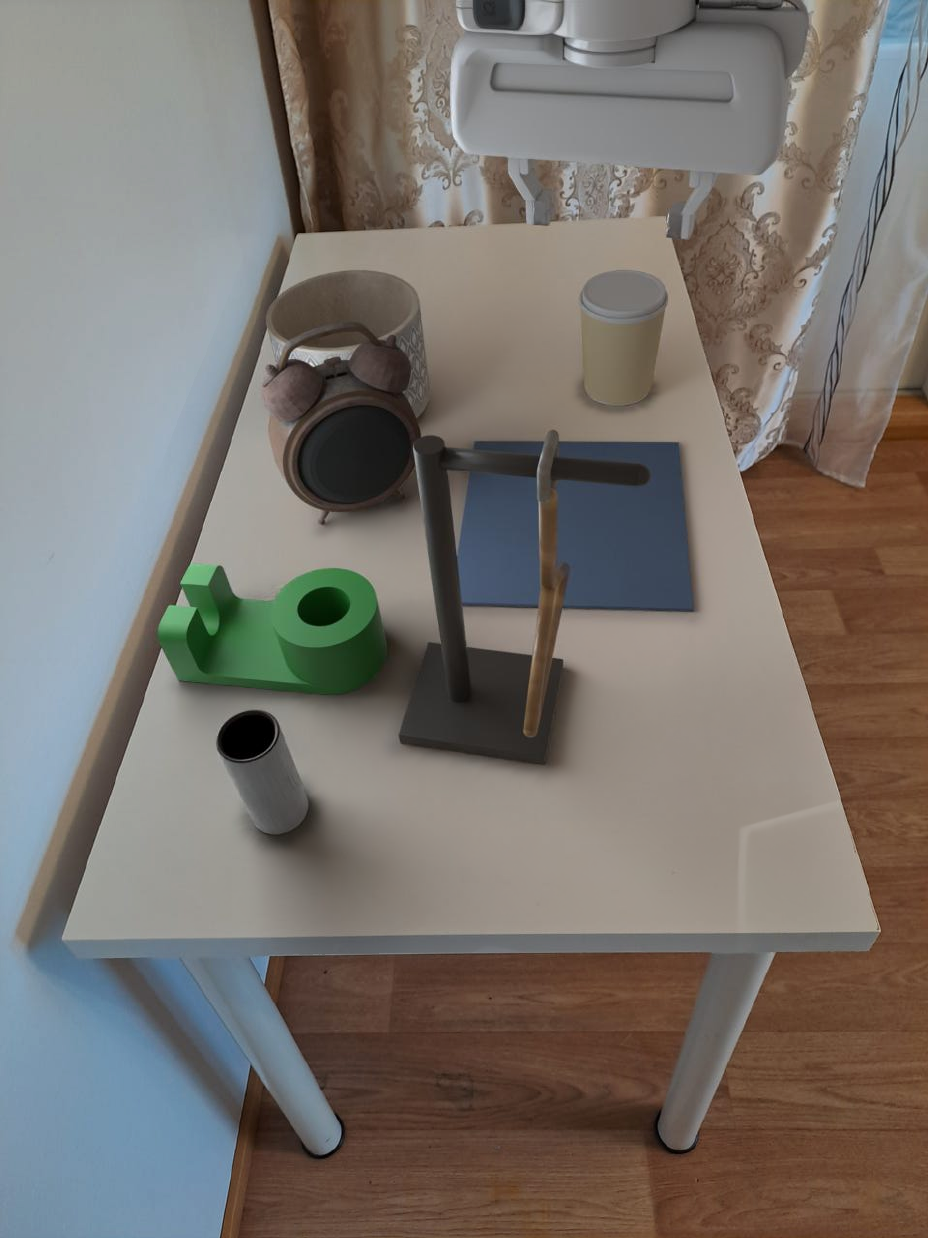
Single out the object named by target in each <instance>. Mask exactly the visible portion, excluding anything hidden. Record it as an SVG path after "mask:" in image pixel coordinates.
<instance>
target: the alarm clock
mask: <svg viewBox="0 0 928 1238" xmlns="http://www.w3.org/2000/svg"><path fill="white" fill-rule="evenodd" d="M341 332H361V333H362V334H364V335H365V336H366V337H367V338H368V339H369V340H368V341H365V342H363V343H362V344H361V345H359V346H358V347H357V349H356V350H355V351H354V353H353V354H352V356H351V358H350V360H341V358H340V357H333V358H329V359H326V360H324V363H323V364H320V365H317V366H315V367H313V366H311V365H310V364H308V363H306V362H304V361H301V360H298V359H289V357H290V354H291V353H292V351H293V350H294V349H296V348H297V347H299V346H301V345H303V344H305V343H306V342H308V341H311V340H314V339H317V338H320V337H324V336H328V335H331V334H335V333H341ZM265 372H266V374H265V376H264V378H263V380H262V381H261V382H260V383H261V388H260V397H261V401H262V402H263V404H264V407H265V409H266V410H267V412H268V413H269V414H270V415H269V420H268V439H269V444H270V446H271V451H272V456H273V458H274V462H275V464H276V467H277V468H278V471H279V472H280V474H281V476H282V477H283V479H284V480H285V482H286V484H287V485H288V487H289V488H290V490H291V491H292V492H293V494H294V495H295V496H296V497H297V498H298V499H300V501H301V502H303V503H305V504H307V505H309V506H310V507H313V508H315V509H317V510H321V514H320V518H319V519H318V520H317V522H318V524H319V525H325V524H326V518H327V517H328V515H329V514H330V513H352V512H357V511H361V510H365V509H367V508H371V507H373V506H375V505H378V504H379V503H381V502H383V501H385V500H387V499H388V498H389V497H391V496H392V495H394V496H396V497H398V498H399V499H398V500H400V501H402V502H403V501H405V500H406V499H407V496H406V494H404V493H402V492H401V491H400V488H401V487H402V486H403V485H404V484H405V483H406V482H407V480H409V478H410V477H411V475H412V473H413V472H414V470H415V469H416V465H415V458H414V451H413V444H414V442H415V441H416V440H417V439H418V438H420V437H422V431H421V427H420V424H419V421H418V418H417V419H416V416H415V414H414V411H413V409H412V407H411V405H410V403H409V401H408V399H407V398H406V396H405V395H404V393H403V391H406V389H407V387H408V384H409V381H410V376H411V365H410V361H409V359H408V357H407V355H406V354H405V353H404V352H403V350H402V349H400V348H399V347H398V346H397V345H396V336H395V335H390V336H389V337H388V338H387V340H386V341H385V340H380V339H377V338H376V337H375V336H374V335H373V333H372V332H371V331H370V330H368V329H367V328H366V327H365V326H364V325H363V324H360V323H358V322H341V323H336V324H330V325H327V326H323V327H319V328H315V329H312V330H309V331H307V332H304V333H302V334H300V335H298V336H296V337H295V338H293V339H291V340H289V341H288V342H287V343H286V344H285V346H284V347H283V350H282V353H281V355H280V358H279V361H278V364H276V363H275V365H274V364H266V366H265Z"/></svg>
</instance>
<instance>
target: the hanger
mask: <svg viewBox="0 0 928 1238" xmlns="http://www.w3.org/2000/svg"><path fill="white" fill-rule="evenodd" d="M543 441H544V445H543V449H542V453H541V457H540V460H539V464H538V468H537V499H538V501H539V557H540V587H541V590H540V598H539V606H538V607H537V615H536V624H535V630H534V631H535V632H534V639H533V648H532V654H531V655H532V663H531V671H530V679H529V687H528V695H527V703H526V711H525V720H524V728H523V732H524V734H525V735H526V736H527V737H534V736H535V735H536V734H537V731H538V726H539V722H540V717H541V712H542V707H543V702H544V697H545V692H546V687H547V682H548V677H549V672H550V667H551V662H552V658H554V657H553V656H554V652H555V647H556V642H557V638H558V637H557V636H558V632H559V627H560V622H561V617H562V612H563V609H564V608H563V603H564V598H565V593H566V588H567V583H568V578H569V572H570V566H569V564H568V563H565V562H563V563H561V564H559V565H558V566H557V527H558V495H557V492H556V490H557V485H558V481H559V480H554V479H550V471H551V467H552V463H553V459H554V456H557V457H559V441H560V434H559V431H557V430H556V429H549V430H547V432H546V434H545V437H544V440H543Z"/></svg>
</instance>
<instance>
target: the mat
mask: <svg viewBox="0 0 928 1238" xmlns="http://www.w3.org/2000/svg"><path fill="white" fill-rule="evenodd" d="M544 441H545V440H542V441H541V440H540V441H539V440H537V441H536V440H474V441H473V447H472V450H484V451H497V452H509V453H521V454H533V455H541V453H542V449H543V445H544ZM559 457H569V458H581V459H593V460H605V461H617V462H629V463H640V464H644V465H646V466H647V467H648V468H649V470H650V479H649V481H648V483H647V484H645V485H644V486H641V487H634V486H623V485H611V484H600V483H589V482H577V481H566V480H559V481H558V485H557V490H556V492H557V495H558V527H557V566H558V565H559V564H561V563H563V562H565V563H568V564H569V566H570V572H569V578H568V583H567V588H566V593H565V598H564V603H563V608H562V609H582V610H583V609H586V610H587V609H588V610H589V609H590V610H593V609H594V610H619V611H620V610H622V611H623V610H626V611H627V610H628V611H658V612H661V611H662V612H663V611H664V612H694V602H693V601H694V600H693V591H692V589H693V588H692V578H691V577H692V576H691V567H690V554H689V543H688V532H687V531H688V530H687V520H686V511H685V509H686V508H685V496H684V486H683V476H682V463H681V452H680V442H679V441H574V440H573V441H560V440H559ZM465 494H466V495H465V501H464V508H463V514H462V520H461V526H460V535H459V539H458V540H459V541H458V546H457V561H458V570H459V580H460V589H461V598H462V606H475V607H476V606H477V607H478V606H480V607H509V608H511V607H512V608H516V607H517V608H538V606H539V598H540V590H541V587H540V557H539V501H538V499H537V478H532V477H520V476H509V475H497V474H486V473H475V472H468V480H467V487H466V493H465Z"/></svg>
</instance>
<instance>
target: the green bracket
mask: <svg viewBox="0 0 928 1238" xmlns="http://www.w3.org/2000/svg"><path fill="white" fill-rule="evenodd" d="M227 576H228V575H227V573H226V571H225V568H224V567H223V566H222V565H219V564H205V563H191V564H189V565H188V567H187V569H186V571H185V573H184V575H183V577H182V578H181V581H180V583H179V584H180V586H181V589H182V591H183V593H184V595H185V597H186V601H187V602H188V605H189V606H185V605H174V604H173V605H172V604H169V605H167V608H166V610H165V612H164V614H163V616H162V618H161V620H160V622H159V624H158V627H157V641H158V643H159V645H160V647H161V649H162V652H163V654H164V656H165V657H166V659H167V661H168V663H169V665H170V668H171V669H172V671H173V673H174V676H175V677H176V679H177V681H181V682H191V683H200V684H209V685H210V684H212V685H222V686H229V687H230V686H231V687H242V688H251V689H263V690H272V691H283V692H294V693H301V694H302V693H304V694H313V695H314V694H315V695H323V696H336V695H337V696H338V695H342V694H346V693H350V692H353V691H356V690H358V689H360V688H362V687H365V685H366V684H369V683H370V682H371V681H372V680H374V678H375V677H376V676H378V675H379V673H380V672H381V671H382V669H383V667H384V665H385V663H386V660H387V656H388V644H387V639H386V634H385V629H384V625H383V620H382V619H383V618H382V615H381V609H380V607H379V606H380V605H379V602H378V596H377V592H376V589H375V588H374V586H373V584H372V583H371V582H370V581H369V579H367V578H366V577H365V576H363V575H362V574H360V573H359V572H356V571H353V570H350V569H346V568H340V567H326V568H319V569H314V570H311V571H308V572H305V573H303V574H301V575H298V576H297V577H295V578H293V579H292V580H291V581H289V582H288V583H286V584H285V585H284V586H283V587H282V588H281V589H280V591H278V593H277V594H276V596H275V597H274V600H273V601H272V600H259V599H257V600H256V599H246V598H241V597H239V596H238V595H236V594H235V593H234V591H233V589H232V586H231V584H230V581H229V578H228V577H227Z"/></svg>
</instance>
